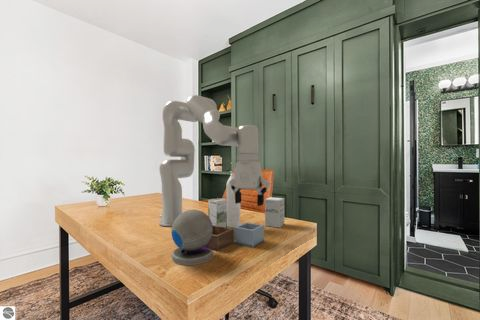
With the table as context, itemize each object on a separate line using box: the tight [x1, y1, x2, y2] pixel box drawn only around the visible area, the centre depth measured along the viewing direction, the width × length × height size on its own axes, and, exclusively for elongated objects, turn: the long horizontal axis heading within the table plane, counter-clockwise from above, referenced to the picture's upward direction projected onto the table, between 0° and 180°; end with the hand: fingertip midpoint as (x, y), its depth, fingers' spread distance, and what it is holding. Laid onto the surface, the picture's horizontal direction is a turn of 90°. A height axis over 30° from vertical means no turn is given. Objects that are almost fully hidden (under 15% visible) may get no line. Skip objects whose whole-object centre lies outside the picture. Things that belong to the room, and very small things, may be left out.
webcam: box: [170, 209, 214, 266], centre depth 76 cm, size 13×13×15 cm
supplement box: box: [264, 196, 285, 229], centre depth 110 cm, size 7×7×13 cm
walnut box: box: [205, 225, 235, 252], centre depth 87 cm, size 10×10×5 cm
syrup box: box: [207, 197, 228, 228], centre depth 99 cm, size 6×6×14 cm
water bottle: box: [225, 172, 242, 229], centre depth 111 cm, size 9×6×25 cm
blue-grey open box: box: [234, 222, 265, 249], centre depth 88 cm, size 8×8×6 cm
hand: (249, 204), depth 88 cm, fingers open, 9 cm apart
